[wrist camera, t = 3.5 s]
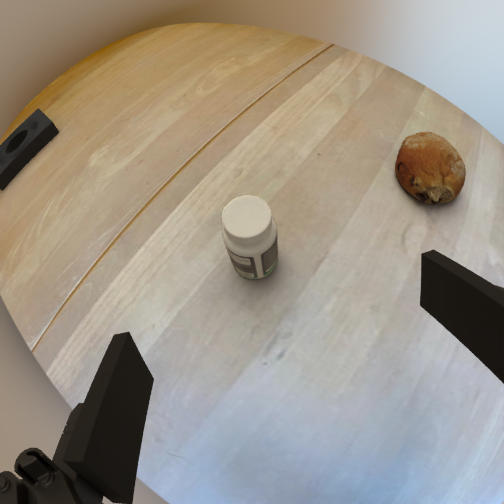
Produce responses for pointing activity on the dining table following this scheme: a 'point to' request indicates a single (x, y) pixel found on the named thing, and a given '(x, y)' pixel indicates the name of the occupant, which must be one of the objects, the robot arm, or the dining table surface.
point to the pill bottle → (250, 236)
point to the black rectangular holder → (24, 145)
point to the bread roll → (430, 168)
